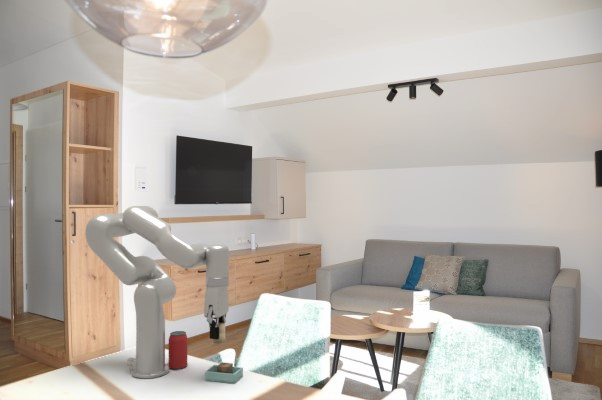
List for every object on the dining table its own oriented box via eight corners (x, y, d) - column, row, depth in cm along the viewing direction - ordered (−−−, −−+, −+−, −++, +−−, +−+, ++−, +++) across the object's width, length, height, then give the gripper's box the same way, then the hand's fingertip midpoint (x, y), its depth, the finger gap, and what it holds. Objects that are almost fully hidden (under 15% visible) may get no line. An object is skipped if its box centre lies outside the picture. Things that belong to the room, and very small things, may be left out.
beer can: (182, 370, 170) (182, 335, 170) (165, 369, 171) (165, 334, 171) (190, 364, 176) (190, 331, 176) (173, 363, 178) (173, 330, 178)
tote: (204, 380, 160) (204, 371, 160) (214, 373, 167) (214, 364, 167) (234, 383, 157) (234, 374, 157) (242, 376, 164) (242, 367, 164)
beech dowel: (211, 343, 161) (210, 325, 161) (216, 340, 165) (216, 322, 165) (222, 343, 160) (222, 325, 160) (227, 340, 164) (226, 322, 164)
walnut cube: (227, 379, 160) (216, 378, 161) (232, 375, 163) (221, 374, 164) (227, 367, 160) (216, 366, 161) (232, 363, 163) (221, 362, 164)
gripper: (217, 278, 172) (217, 330, 172) (195, 285, 156) (195, 343, 156) (237, 278, 170) (237, 331, 170) (217, 286, 154) (217, 344, 154)
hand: (217, 336), depth 163 cm, fingers closed on beech dowel, 3 cm apart
